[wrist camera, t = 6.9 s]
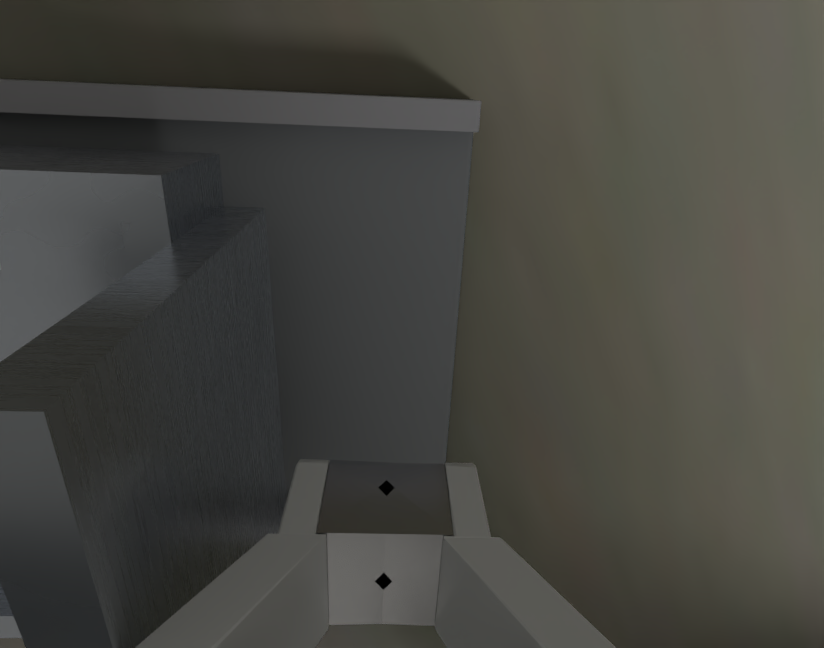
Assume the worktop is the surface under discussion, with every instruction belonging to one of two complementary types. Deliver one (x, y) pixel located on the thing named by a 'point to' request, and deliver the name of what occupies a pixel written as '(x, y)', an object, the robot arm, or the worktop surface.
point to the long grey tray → (129, 390)
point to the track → (317, 238)
